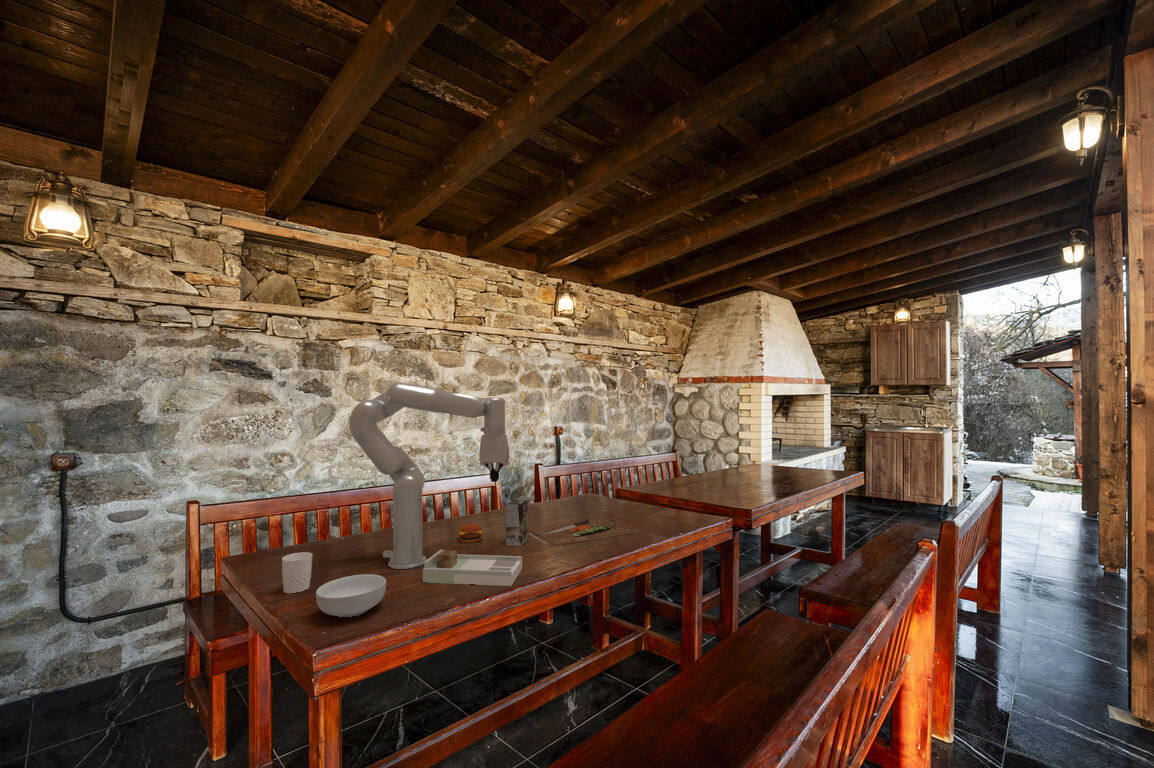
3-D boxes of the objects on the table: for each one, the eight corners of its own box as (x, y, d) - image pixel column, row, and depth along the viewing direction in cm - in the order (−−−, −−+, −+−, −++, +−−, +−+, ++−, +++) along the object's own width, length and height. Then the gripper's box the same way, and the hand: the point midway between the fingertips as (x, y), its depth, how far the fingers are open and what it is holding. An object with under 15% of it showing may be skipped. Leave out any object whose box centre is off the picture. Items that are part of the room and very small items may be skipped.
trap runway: (422, 582, 147) (422, 563, 147) (441, 566, 162) (442, 548, 162) (510, 586, 144) (510, 566, 144) (522, 569, 159) (522, 550, 159)
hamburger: (459, 544, 187) (459, 527, 188) (458, 538, 196) (458, 522, 197) (483, 542, 190) (483, 525, 190) (481, 536, 199) (481, 520, 200)
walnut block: (436, 567, 152) (436, 555, 152) (442, 562, 157) (442, 550, 157) (451, 568, 151) (451, 555, 151) (457, 563, 156) (457, 550, 156)
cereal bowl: (372, 593, 139) (373, 569, 139) (395, 611, 127) (396, 584, 127) (307, 611, 127) (308, 584, 127) (326, 632, 115) (326, 603, 115)
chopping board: (550, 549, 182) (550, 540, 183) (524, 532, 206) (524, 525, 206) (645, 533, 204) (645, 526, 204) (611, 520, 228) (611, 513, 228)
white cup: (289, 597, 136) (290, 562, 137) (275, 592, 140) (276, 557, 141) (317, 588, 143) (317, 554, 143) (303, 583, 147) (303, 550, 147)
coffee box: (521, 546, 184) (521, 504, 185) (505, 545, 185) (505, 504, 186) (528, 540, 193) (528, 500, 194) (513, 539, 194) (513, 499, 195)
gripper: (471, 431, 171) (471, 483, 170) (512, 431, 169) (511, 483, 168) (478, 430, 178) (477, 479, 177) (517, 430, 176) (517, 480, 176)
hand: (494, 481), depth 173 cm, fingers closed
